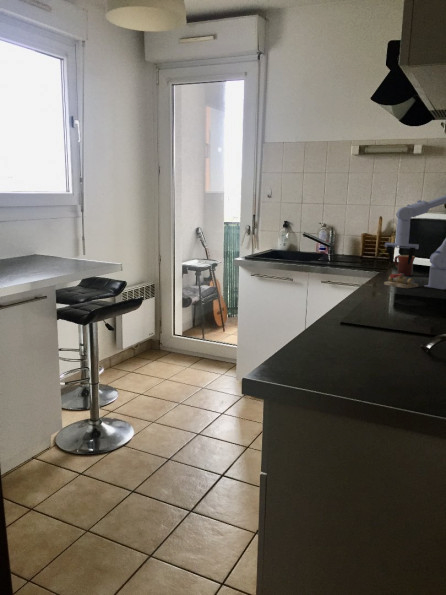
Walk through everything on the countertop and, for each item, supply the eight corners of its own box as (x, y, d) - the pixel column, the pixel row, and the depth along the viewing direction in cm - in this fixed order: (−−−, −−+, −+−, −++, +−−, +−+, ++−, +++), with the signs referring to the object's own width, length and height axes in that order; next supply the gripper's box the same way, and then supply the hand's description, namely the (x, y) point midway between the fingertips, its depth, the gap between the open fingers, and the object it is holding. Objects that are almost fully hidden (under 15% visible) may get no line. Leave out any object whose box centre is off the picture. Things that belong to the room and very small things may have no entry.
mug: (417, 276, 261) (418, 256, 258) (404, 277, 257) (406, 257, 255) (400, 272, 271) (401, 254, 269) (387, 273, 268) (389, 254, 266)
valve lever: (401, 275, 232) (401, 272, 232) (404, 276, 231) (405, 273, 231) (389, 277, 227) (390, 274, 227) (393, 277, 225) (394, 274, 225)
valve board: (418, 286, 230) (418, 277, 229) (407, 288, 225) (408, 279, 224) (394, 282, 239) (395, 274, 238) (384, 284, 234) (384, 275, 233)
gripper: (421, 234, 226) (418, 263, 229) (388, 232, 234) (386, 261, 236) (418, 235, 220) (415, 265, 223) (384, 233, 228) (382, 263, 230)
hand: (400, 263), depth 229 cm, fingers open, 7 cm apart
